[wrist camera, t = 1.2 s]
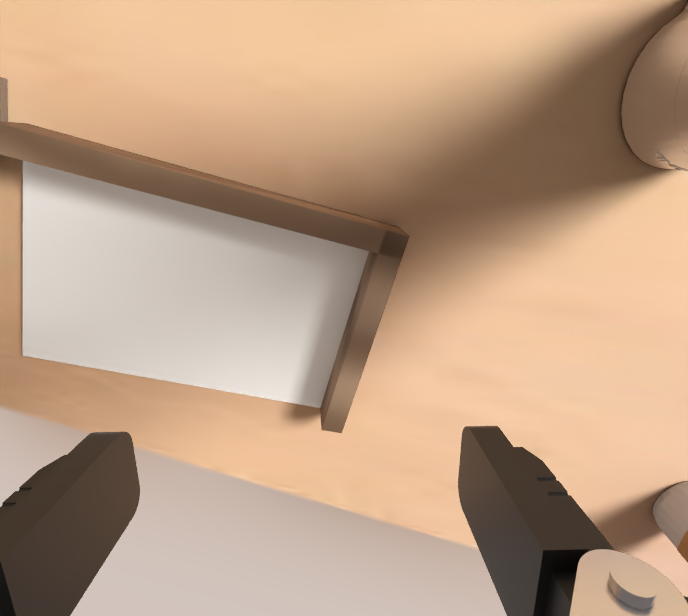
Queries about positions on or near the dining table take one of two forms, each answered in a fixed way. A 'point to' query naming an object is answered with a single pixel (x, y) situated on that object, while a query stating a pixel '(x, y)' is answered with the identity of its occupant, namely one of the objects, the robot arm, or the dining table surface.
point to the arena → (247, 204)
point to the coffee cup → (674, 516)
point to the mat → (180, 290)
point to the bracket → (3, 100)
